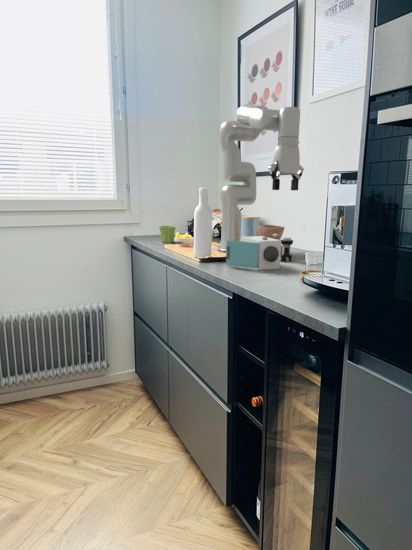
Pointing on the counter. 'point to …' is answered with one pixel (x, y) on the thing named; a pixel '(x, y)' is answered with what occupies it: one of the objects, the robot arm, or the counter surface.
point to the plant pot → (167, 233)
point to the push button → (286, 250)
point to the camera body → (266, 251)
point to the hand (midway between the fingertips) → (285, 190)
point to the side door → (242, 254)
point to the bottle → (202, 226)
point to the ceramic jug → (270, 232)
